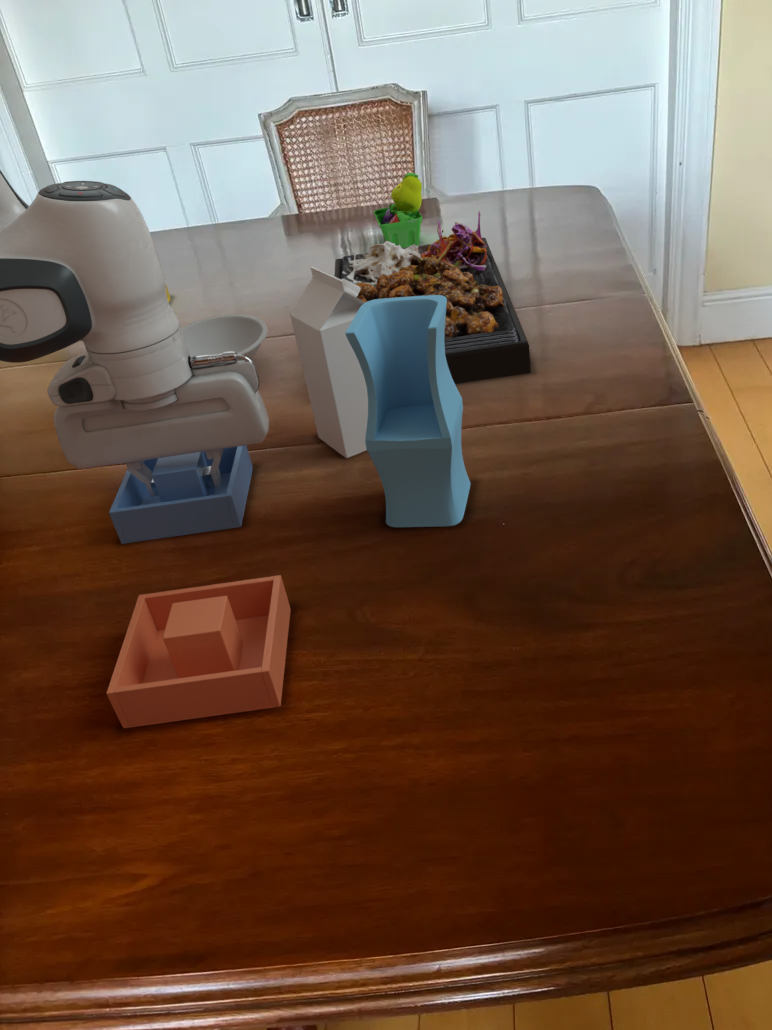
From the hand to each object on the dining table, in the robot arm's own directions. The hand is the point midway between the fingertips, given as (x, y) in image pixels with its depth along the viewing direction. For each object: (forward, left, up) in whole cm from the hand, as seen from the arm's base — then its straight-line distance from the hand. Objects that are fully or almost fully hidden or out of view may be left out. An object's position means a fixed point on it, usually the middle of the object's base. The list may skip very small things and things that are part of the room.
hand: (186, 489), depth 94 cm
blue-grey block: (0, 0, -2) cm, 2 cm away
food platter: (+27, +43, -3) cm, 51 cm away
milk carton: (+18, +10, -3) cm, 21 cm away
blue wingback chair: (+25, -7, -3) cm, 26 cm away
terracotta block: (+6, -27, -2) cm, 28 cm away
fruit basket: (+26, +85, -3) cm, 89 cm away
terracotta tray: (+6, -27, -2) cm, 28 cm away
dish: (-1, +36, -3) cm, 36 cm away
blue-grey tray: (0, 0, -2) cm, 2 cm away
